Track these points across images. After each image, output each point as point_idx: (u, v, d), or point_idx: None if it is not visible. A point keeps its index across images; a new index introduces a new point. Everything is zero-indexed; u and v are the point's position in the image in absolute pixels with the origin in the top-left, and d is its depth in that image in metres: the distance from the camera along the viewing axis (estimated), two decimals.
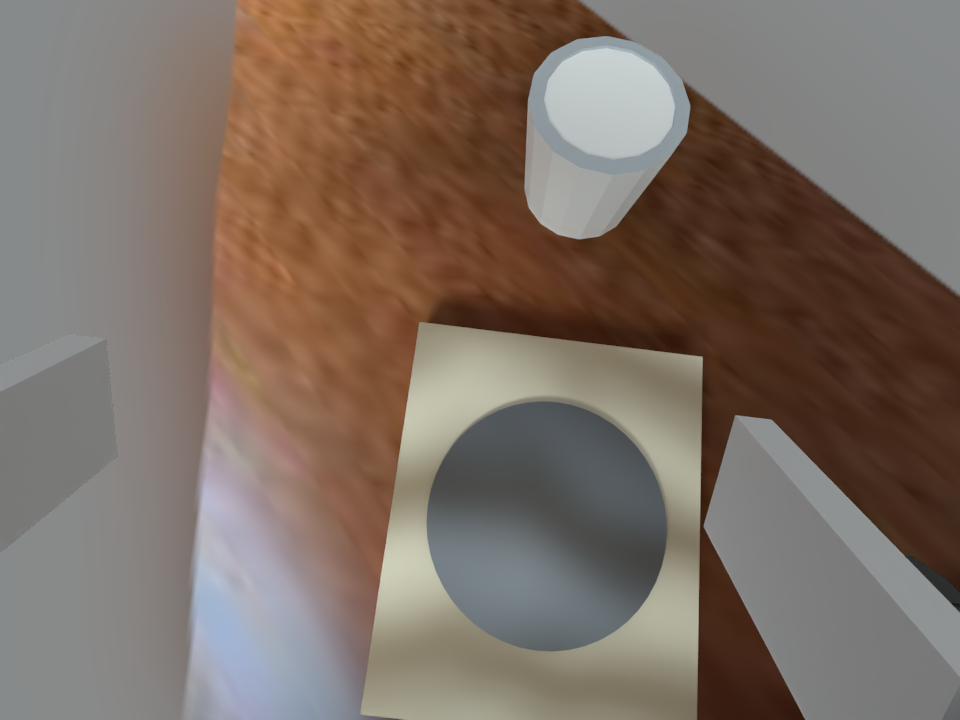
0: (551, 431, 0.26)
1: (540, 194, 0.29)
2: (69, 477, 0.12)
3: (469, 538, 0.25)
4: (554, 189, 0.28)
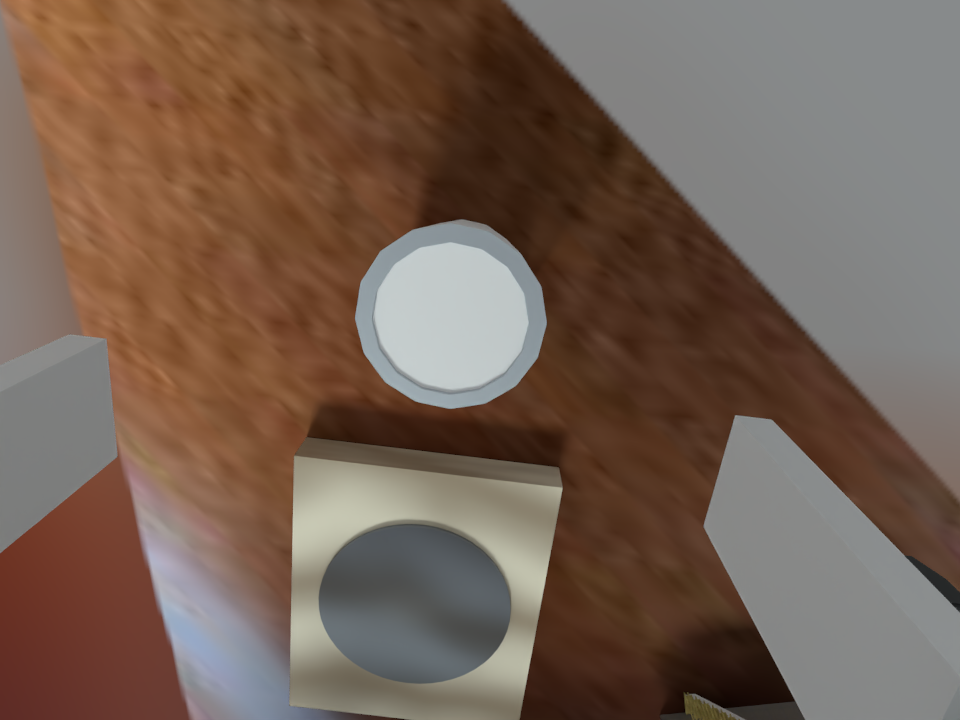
0: (417, 550, 0.30)
1: None
2: (69, 477, 0.12)
3: (353, 619, 0.32)
4: None
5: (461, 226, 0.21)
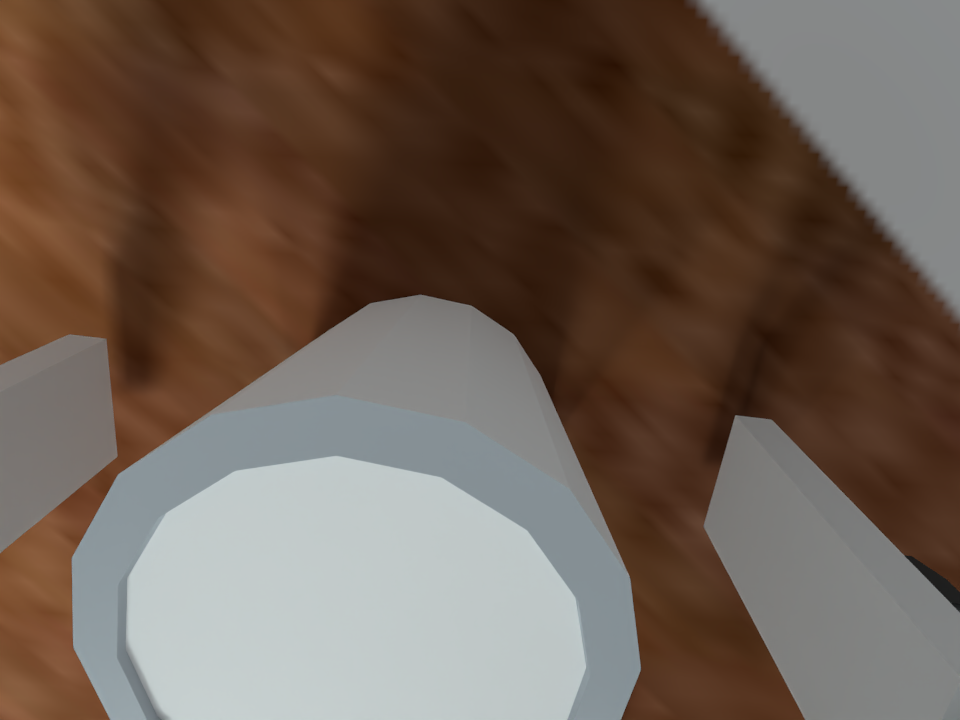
0: None
1: None
2: (69, 477, 0.12)
3: None
4: None
5: (372, 405, 0.06)
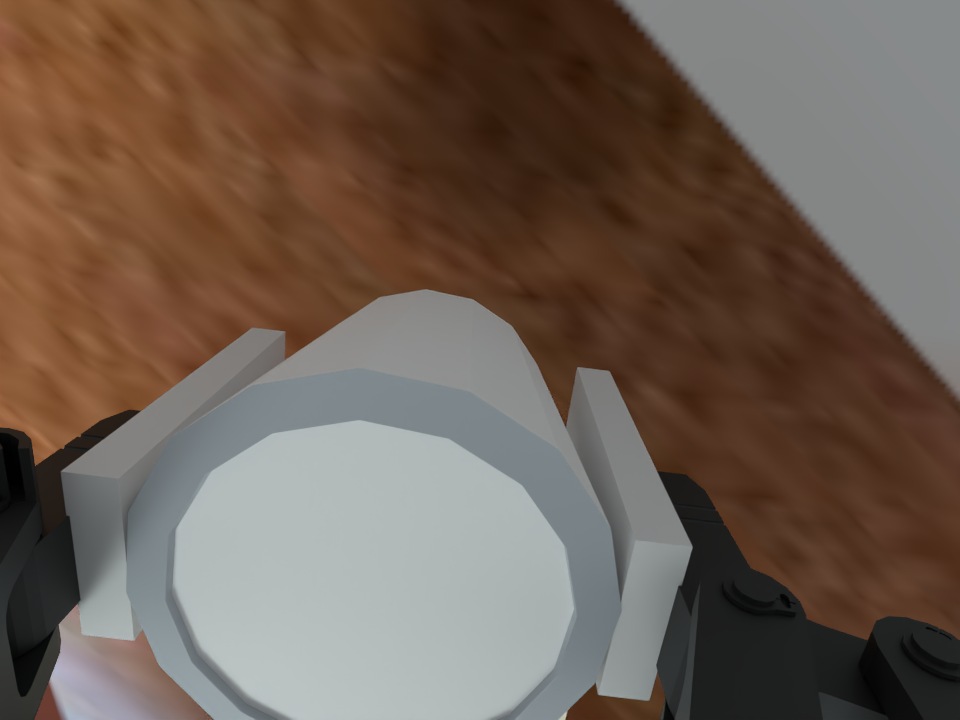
0: None
1: None
2: None
3: None
4: None
5: (389, 376, 0.07)
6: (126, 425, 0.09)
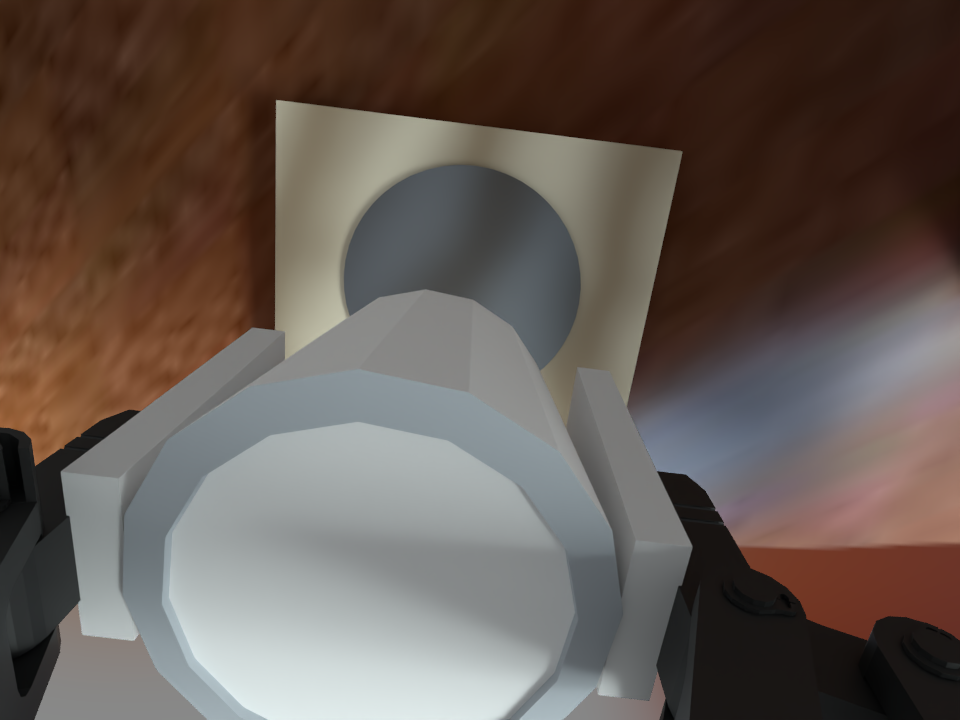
0: (374, 281, 0.26)
1: None
2: None
3: None
4: None
5: (388, 377, 0.07)
6: (126, 425, 0.09)
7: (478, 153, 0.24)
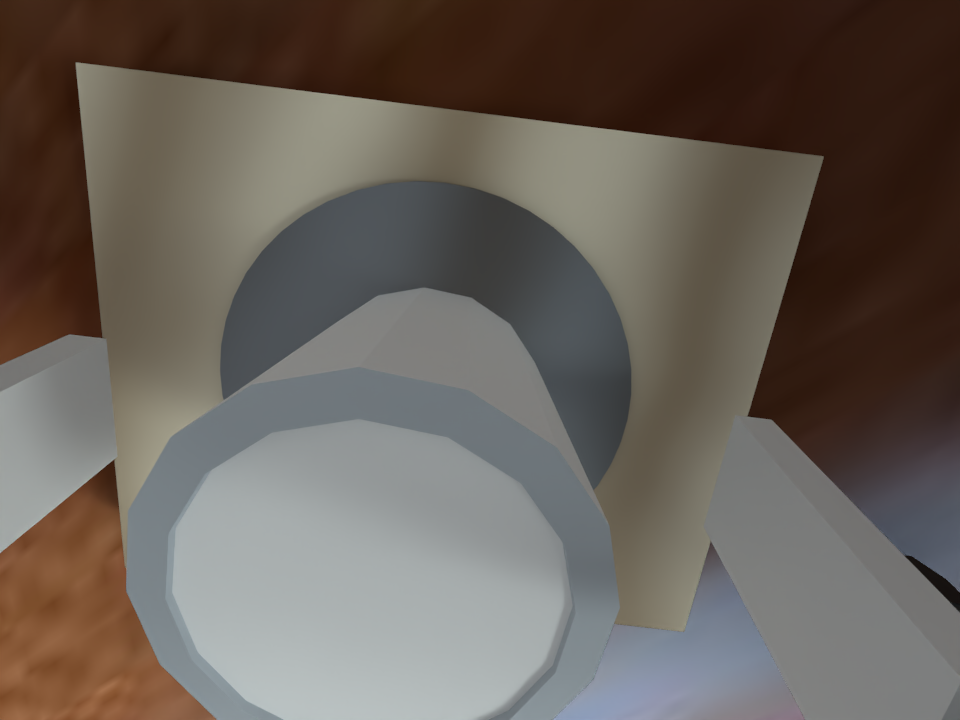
0: None
1: None
2: (69, 477, 0.12)
3: None
4: None
5: (389, 375, 0.07)
6: None
7: (450, 160, 0.13)
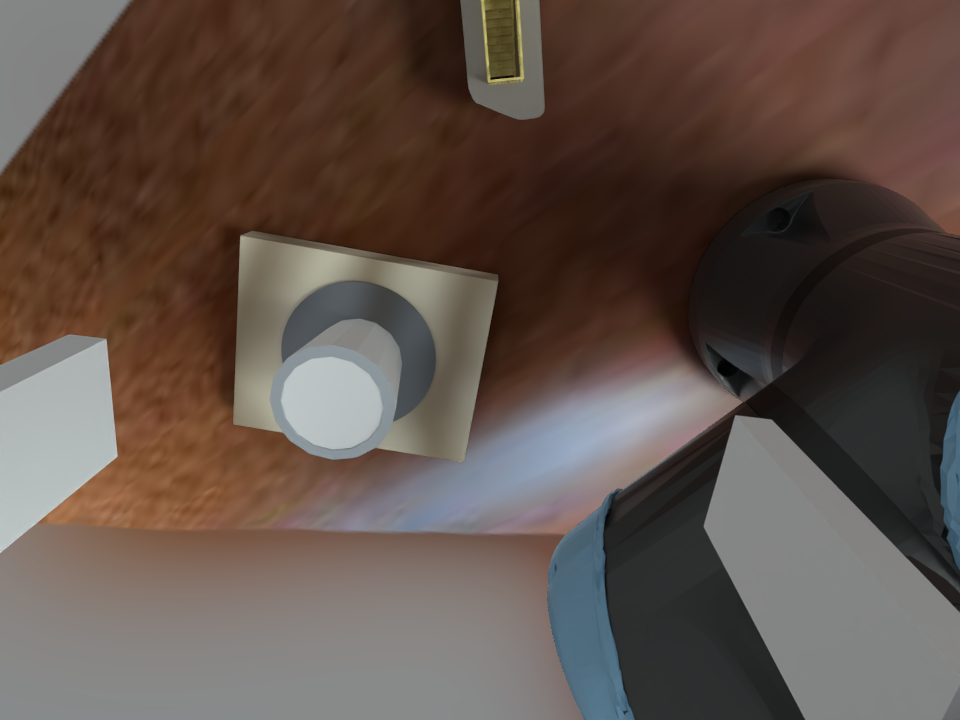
0: None
1: None
2: (69, 477, 0.12)
3: None
4: None
5: (339, 347, 0.32)
6: None
7: (369, 275, 0.38)
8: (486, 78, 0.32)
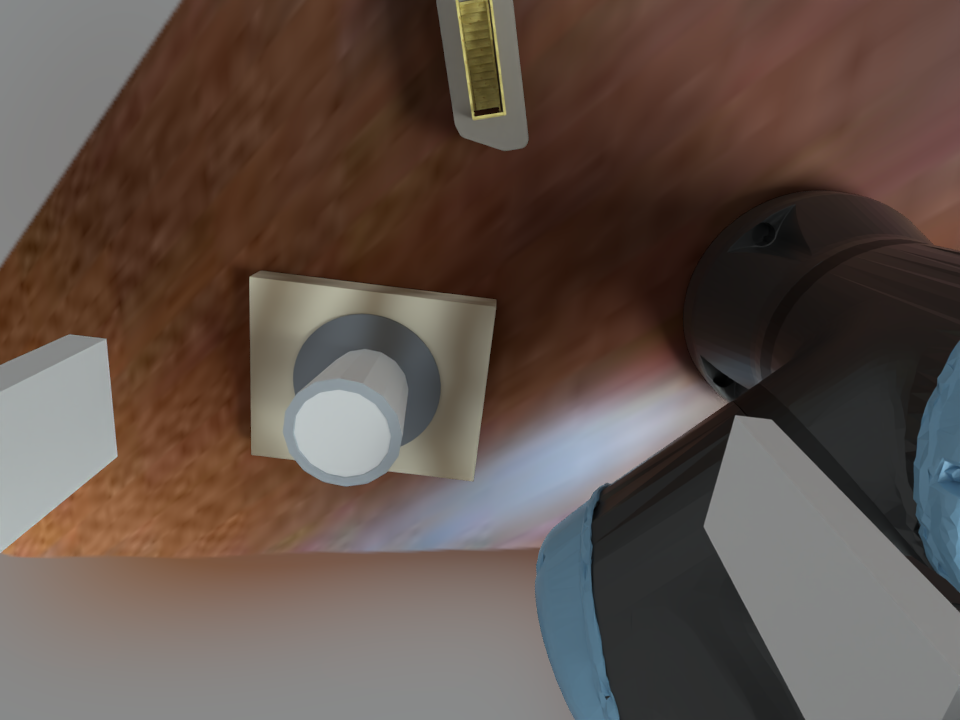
0: None
1: None
2: (69, 477, 0.12)
3: None
4: None
5: (345, 380, 0.34)
6: None
7: (373, 307, 0.40)
8: (471, 114, 0.33)
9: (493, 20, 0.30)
